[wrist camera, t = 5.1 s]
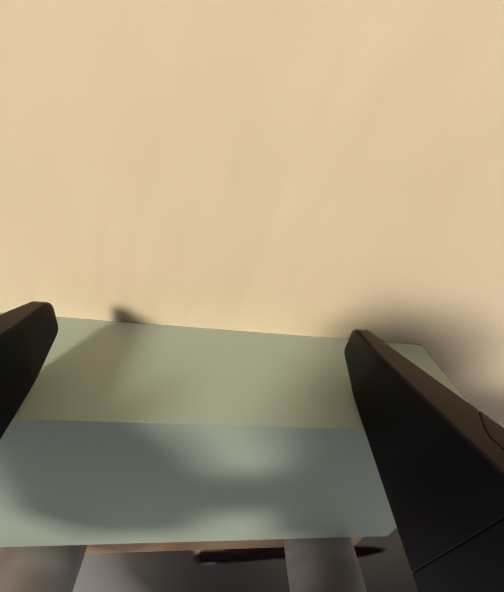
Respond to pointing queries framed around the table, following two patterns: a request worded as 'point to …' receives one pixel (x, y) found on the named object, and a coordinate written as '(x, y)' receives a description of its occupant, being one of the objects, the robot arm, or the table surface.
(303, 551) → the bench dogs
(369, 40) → the table surface
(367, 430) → the robot arm
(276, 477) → the painted plate block
